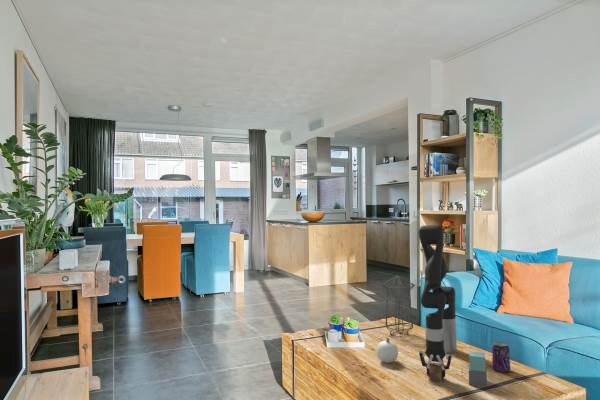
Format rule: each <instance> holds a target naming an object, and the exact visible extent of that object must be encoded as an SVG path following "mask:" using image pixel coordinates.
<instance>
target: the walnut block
mask: <svg viewBox="0 0 600 400" xmlns="http://www.w3.org/2000/svg"><path fill="white" fill-rule="evenodd" d="M428 378H429V381H432V382H433V381H434V382H443V379H442V368H441V365H440V364H439V362H431V364H430V365H429V377H428Z"/></svg>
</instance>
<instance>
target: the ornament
mask: <svg viewBox="0 0 600 400" xmlns="http://www.w3.org/2000/svg"><path fill="white" fill-rule="evenodd" d="M398 354H399V349H398V347H397V345H396V343H394V341H392V340H390V338H389V337H386V339H385V340H382V341H380V342H379V343H378V344H377V347H376V355H377V358H378V359H379V360H380V361H381V362H383V363H386V364H390V363H393V362H395V361H396V360H397V358H398V356H399V355H398Z"/></svg>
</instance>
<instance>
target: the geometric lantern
mask: <svg viewBox="0 0 600 400" xmlns="http://www.w3.org/2000/svg"><path fill="white" fill-rule="evenodd" d="M387 283H388V284H387ZM396 283H397V285H398V287H396V288H395V289H394V286H395V284H396ZM408 283H409V284H408ZM380 286H381V287H383V288H384V289H385V290H386V298H385V299H386V307H385V311H386V312H385V328H386V329H387V330H388V331H389V335H390V336H393V337H398V338H403V337H405V336H408V335H409V332H410V331H411V330H412V329H414V324H413V323H414V321H413V313H412V303H411V302H412V301H411V296H410V291H411V290H412V289H413V288H414V287H415V286H416V284H414V283H413V282H411V281H409V280H407V279H405V278H403V277H402V276H400V275H395V276H394V277H392V278H390V279H388V280H387V281H385V282H383V283H381V284H380ZM400 289H401V290H400ZM398 290H400V292H399V294H396V291H398ZM402 292H404V293H403V295H401V293H402ZM390 293H392V296H389V295H390ZM406 293H407V294H408V296H405V294H406ZM392 297H395V299H392ZM397 297H398V298H397ZM400 297H401V298H400ZM403 298H405V299H403ZM388 300H391V301H395V302H396V303H398V305H395V313H394V315H395V316H394V319H395V320H394V322H393V323H390V324H388V304H389V303H388ZM407 300H409V311H410V324H405V323H404V316H403V305H402V301H407ZM393 325H395V328H392V327H390V326H393ZM400 325H401V326H402V328H400ZM404 326H408V327H409V328H406V329H405V328H404ZM394 334H395V335H394ZM396 334H399V335H396Z"/></svg>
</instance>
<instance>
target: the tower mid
mask: <svg viewBox="0 0 600 400" xmlns="http://www.w3.org/2000/svg"><path fill="white" fill-rule="evenodd" d="M469 365H470V370H473V371H481V372H486V370H485V367H486V353H485V352H480V351H472V350H471V351H469Z"/></svg>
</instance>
